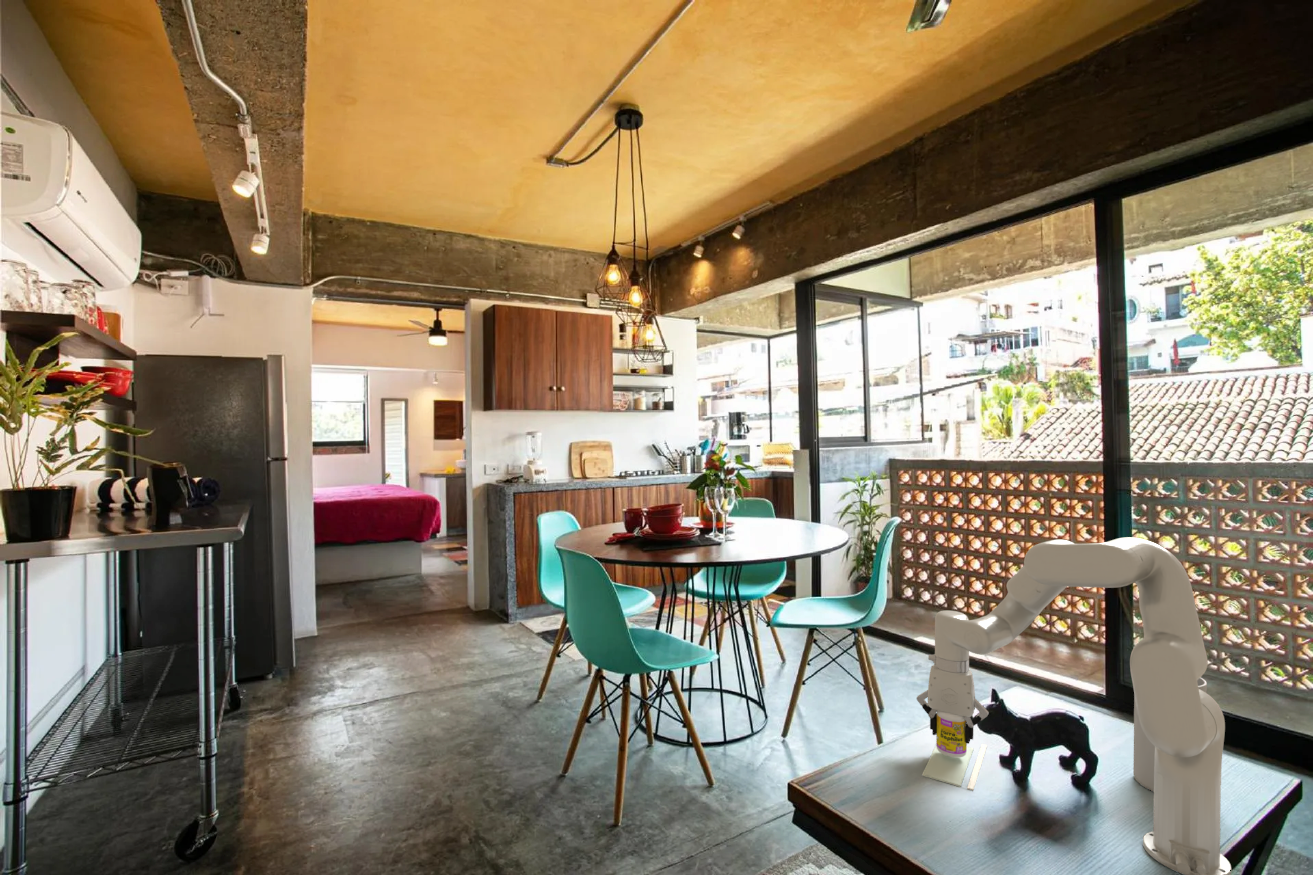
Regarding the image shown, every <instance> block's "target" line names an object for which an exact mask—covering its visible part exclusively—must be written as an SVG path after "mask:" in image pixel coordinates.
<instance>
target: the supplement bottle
mask: <svg viewBox="0 0 1313 875" xmlns="http://www.w3.org/2000/svg"><path fill="white" fill-rule="evenodd" d="M936 713H937V731H936V732H937V733H936V735H935V737H936V740H935V741H936V744H935V747H936V746H937V749H938V751H939V752H941V753H942V754H944V755H946V756H950V757H956V758H959V757H963V756H965V755H966V751H967V747H968V746H967V745H968V744H967V743H966V742H965V734H966V725H967V722H966V720H965V718H964V716H959V715H955V714H951V713H946V712H942V711H938V710H937V712H936Z"/></svg>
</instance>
